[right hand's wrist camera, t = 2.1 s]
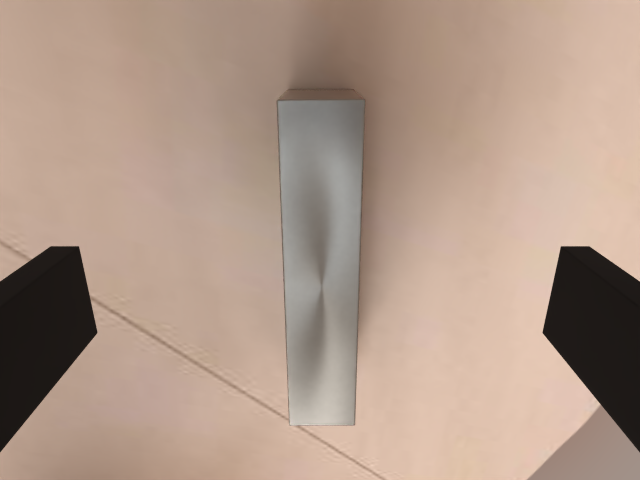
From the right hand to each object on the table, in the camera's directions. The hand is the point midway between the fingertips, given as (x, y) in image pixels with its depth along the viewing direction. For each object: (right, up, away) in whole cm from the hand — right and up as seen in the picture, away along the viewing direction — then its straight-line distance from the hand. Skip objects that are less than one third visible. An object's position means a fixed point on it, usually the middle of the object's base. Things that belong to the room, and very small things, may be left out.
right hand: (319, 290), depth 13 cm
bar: (0, +2, +27) cm, 27 cm away
